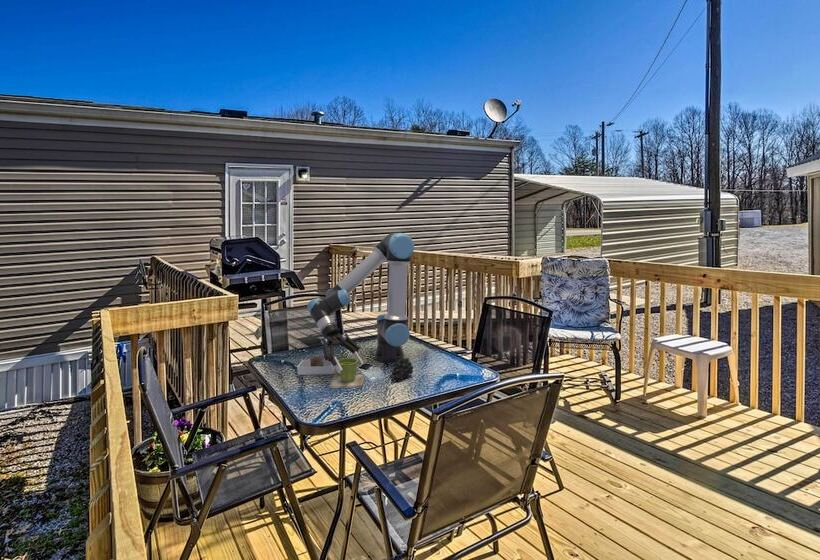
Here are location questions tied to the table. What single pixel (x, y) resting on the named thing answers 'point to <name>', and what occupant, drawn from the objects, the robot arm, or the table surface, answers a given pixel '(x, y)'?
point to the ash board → (352, 384)
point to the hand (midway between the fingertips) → (351, 368)
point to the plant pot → (348, 369)
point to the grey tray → (315, 368)
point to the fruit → (401, 369)
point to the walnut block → (316, 361)
